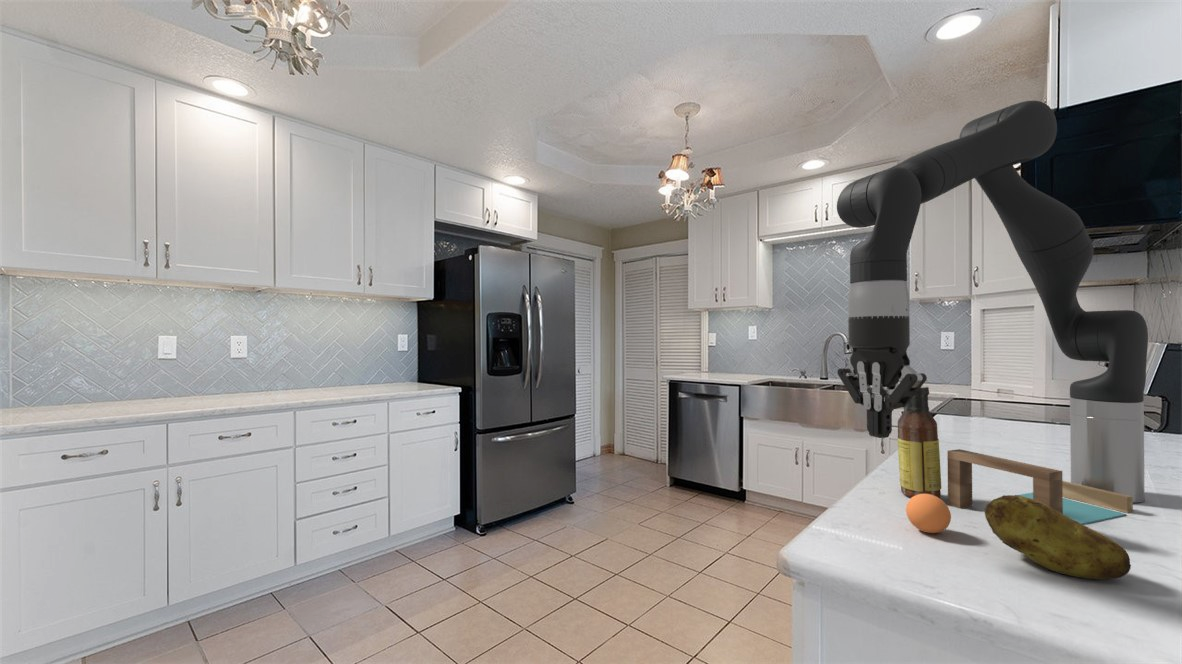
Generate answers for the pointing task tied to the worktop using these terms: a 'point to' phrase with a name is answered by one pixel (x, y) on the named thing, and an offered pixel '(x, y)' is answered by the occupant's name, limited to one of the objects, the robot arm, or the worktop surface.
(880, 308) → the robot arm
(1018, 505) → the potato
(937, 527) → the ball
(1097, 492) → the stopper strip
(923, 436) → the sauce bottle
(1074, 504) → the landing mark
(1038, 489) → the bridge
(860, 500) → the worktop surface
